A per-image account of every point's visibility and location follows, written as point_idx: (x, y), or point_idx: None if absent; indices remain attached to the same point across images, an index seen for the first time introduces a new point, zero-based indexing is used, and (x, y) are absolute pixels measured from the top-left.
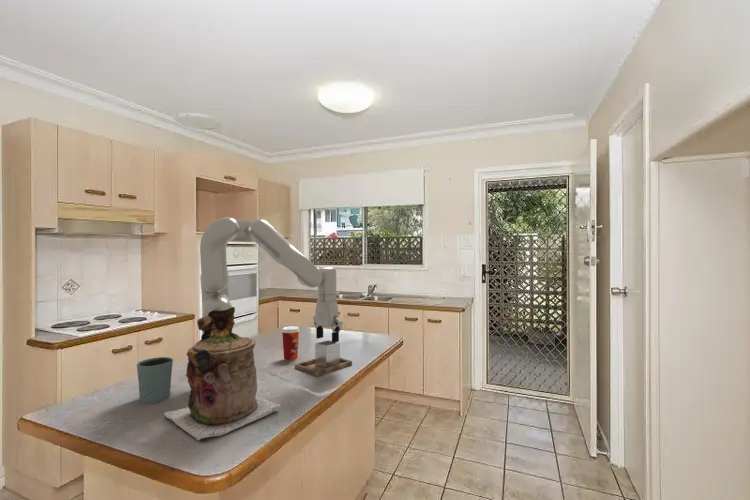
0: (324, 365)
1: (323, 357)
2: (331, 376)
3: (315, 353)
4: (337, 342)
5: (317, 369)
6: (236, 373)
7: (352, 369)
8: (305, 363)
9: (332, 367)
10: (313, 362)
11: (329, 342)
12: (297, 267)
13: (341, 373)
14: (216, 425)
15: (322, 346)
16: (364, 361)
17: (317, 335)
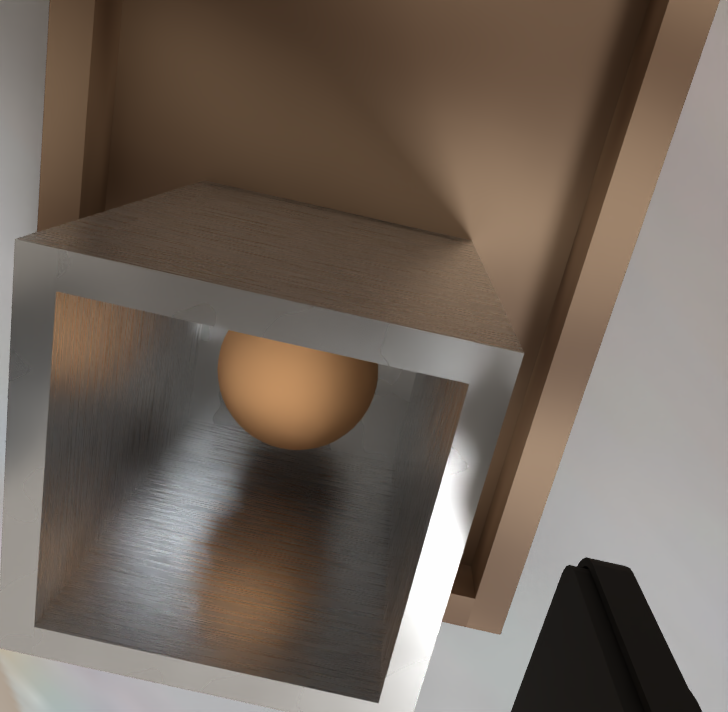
0: (239, 195)
1: (233, 219)
2: (26, 54)
3: (484, 281)
4: (70, 657)
5: (316, 97)
6: None
7: (3, 422)
8: (616, 140)
9: (42, 157)
10: (559, 302)
11: (341, 663)
12: None
13: (5, 230)
14: None
15: (196, 268)
16: (90, 703)
17: (605, 626)
